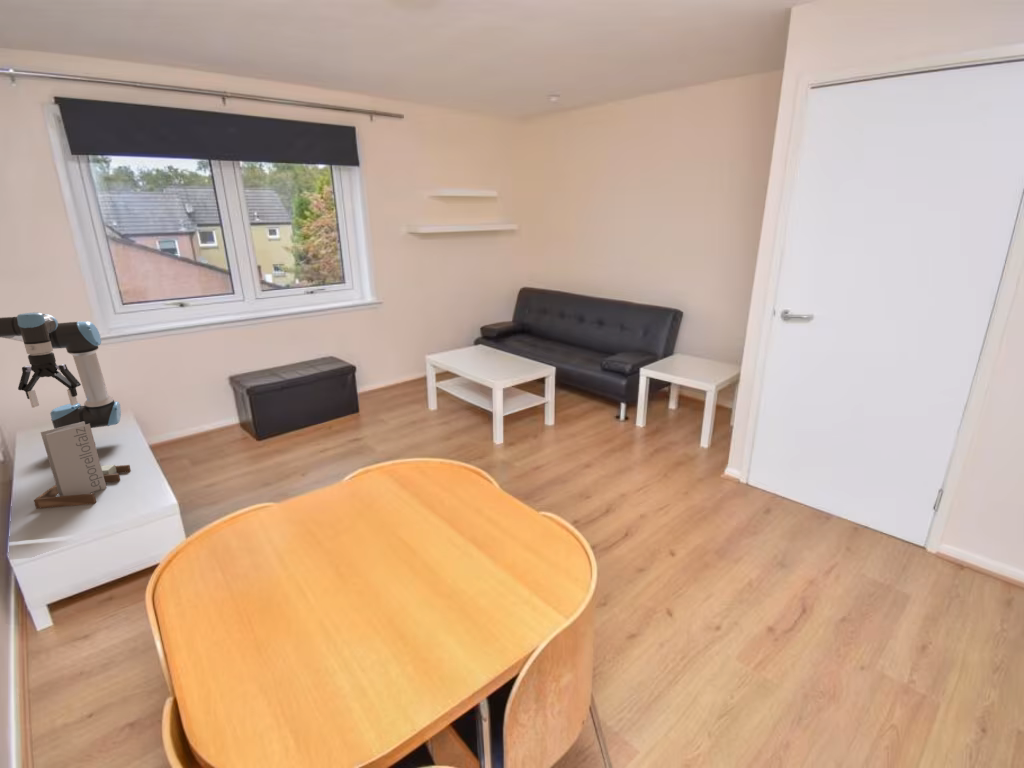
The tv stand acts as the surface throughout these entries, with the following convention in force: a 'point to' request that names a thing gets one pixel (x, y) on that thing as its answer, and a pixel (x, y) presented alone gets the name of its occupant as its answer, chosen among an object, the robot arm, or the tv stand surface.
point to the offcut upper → (108, 469)
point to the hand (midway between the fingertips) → (55, 405)
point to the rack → (51, 501)
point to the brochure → (74, 459)
